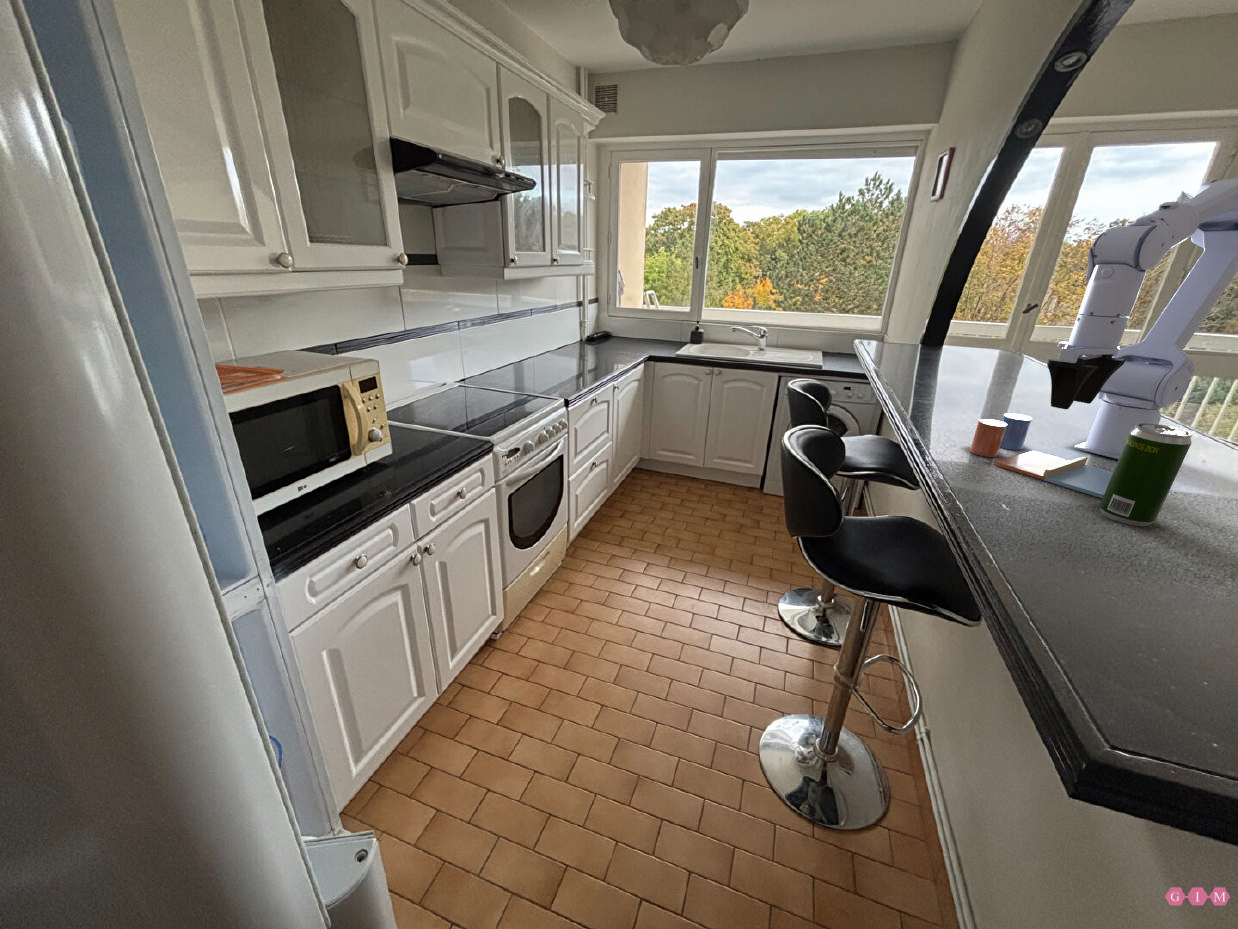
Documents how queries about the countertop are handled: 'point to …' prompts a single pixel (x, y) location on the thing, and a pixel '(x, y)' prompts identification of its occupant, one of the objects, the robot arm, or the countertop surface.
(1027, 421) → the cylinder
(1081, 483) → the board
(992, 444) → the orange cylinder
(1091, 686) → the countertop surface
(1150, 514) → the green drink can
